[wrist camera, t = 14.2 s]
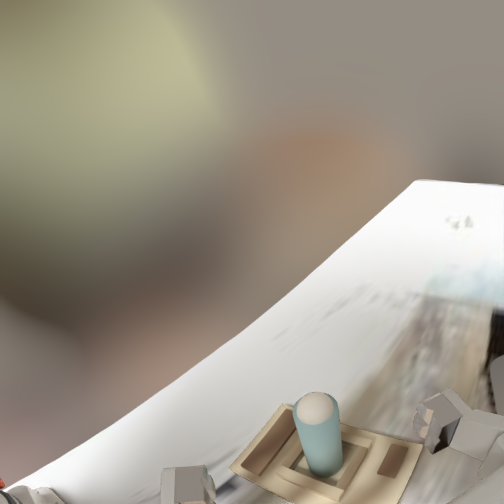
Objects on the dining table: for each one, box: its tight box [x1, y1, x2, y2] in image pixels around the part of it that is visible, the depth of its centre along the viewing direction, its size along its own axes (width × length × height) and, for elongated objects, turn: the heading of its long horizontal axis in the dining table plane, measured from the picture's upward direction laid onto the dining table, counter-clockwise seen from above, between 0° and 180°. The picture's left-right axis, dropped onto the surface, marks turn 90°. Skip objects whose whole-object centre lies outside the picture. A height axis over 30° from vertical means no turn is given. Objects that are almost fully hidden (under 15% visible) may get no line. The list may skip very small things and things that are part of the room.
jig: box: [229, 404, 423, 504], centre depth 32 cm, size 22×13×3 cm, turn 54°
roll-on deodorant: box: [293, 392, 343, 478], centre depth 30 cm, size 4×4×15 cm
